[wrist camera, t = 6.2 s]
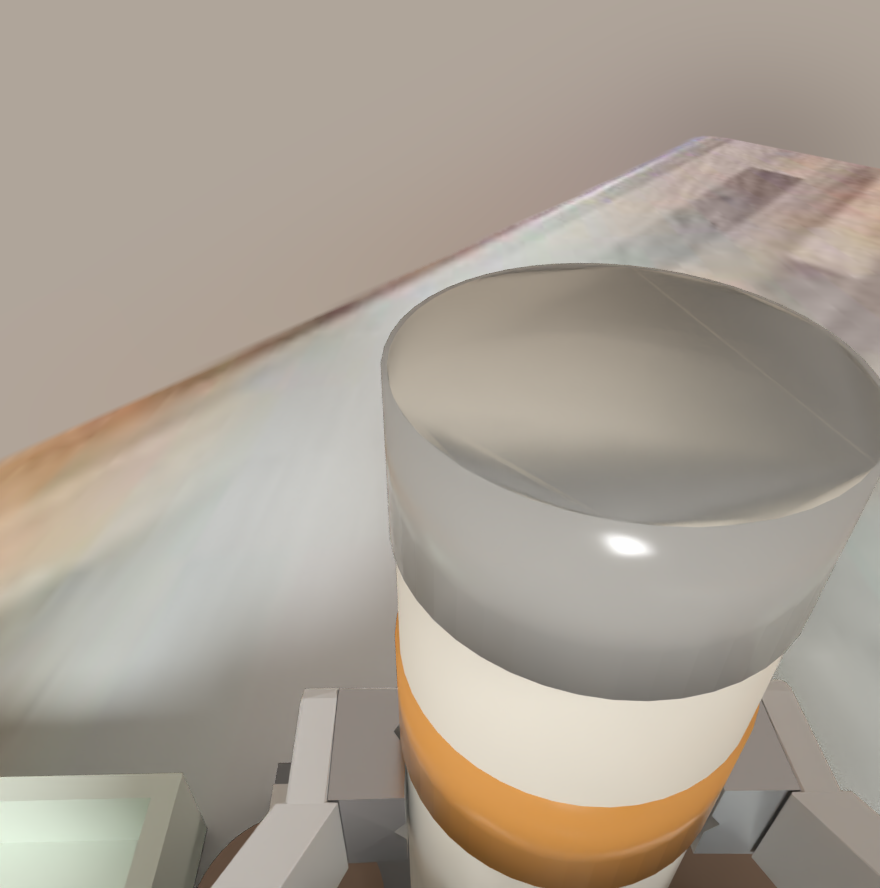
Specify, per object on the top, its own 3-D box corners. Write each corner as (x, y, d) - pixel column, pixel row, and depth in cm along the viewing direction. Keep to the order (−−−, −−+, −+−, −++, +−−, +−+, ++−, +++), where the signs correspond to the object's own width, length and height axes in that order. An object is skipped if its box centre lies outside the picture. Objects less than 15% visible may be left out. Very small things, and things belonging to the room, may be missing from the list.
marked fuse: (411, 1101, 13) (365, 536, 4) (412, 866, 17) (388, 263, 8) (625, 1094, 13) (1029, 528, 4) (585, 862, 17) (767, 262, 8)
